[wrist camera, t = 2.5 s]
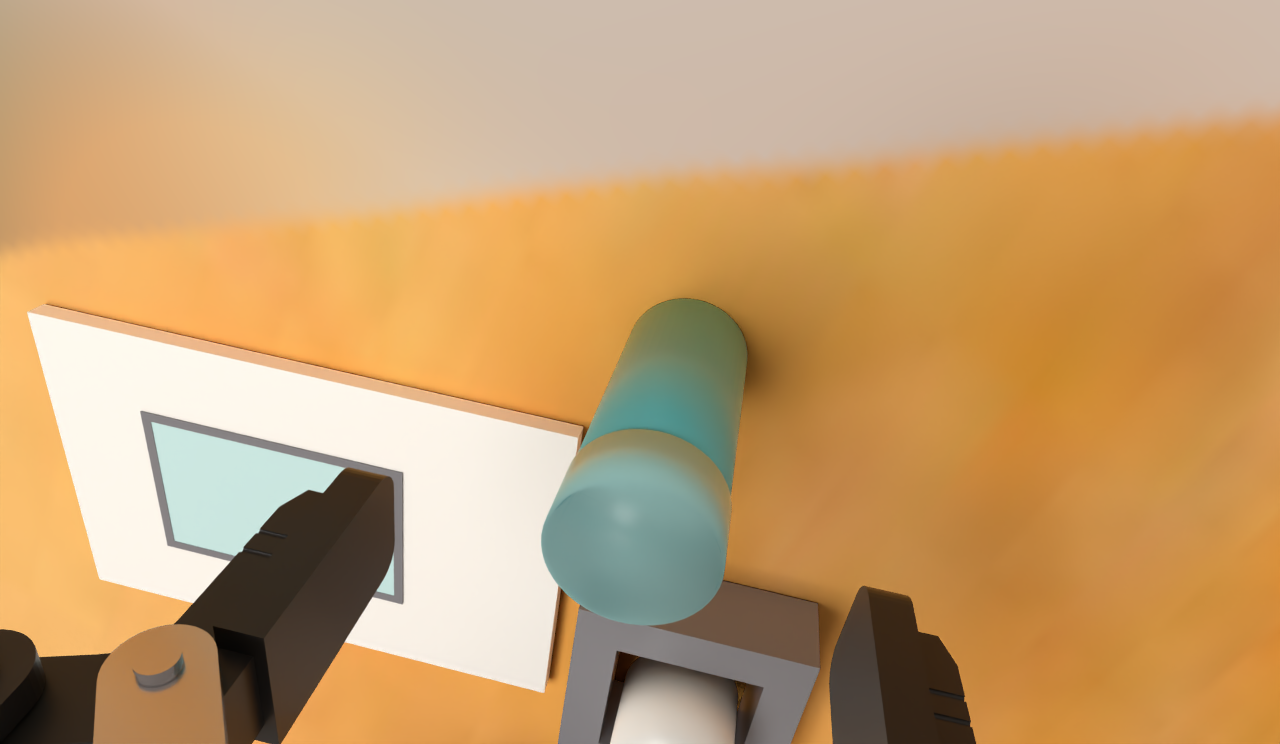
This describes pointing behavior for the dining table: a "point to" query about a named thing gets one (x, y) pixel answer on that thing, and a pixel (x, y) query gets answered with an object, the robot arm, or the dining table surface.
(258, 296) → the dining table surface
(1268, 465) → the dining table surface
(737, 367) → the marker
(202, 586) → the sheet
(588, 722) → the button frame
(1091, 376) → the dining table surface
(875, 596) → the robot arm
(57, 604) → the dining table surface
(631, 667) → the button
